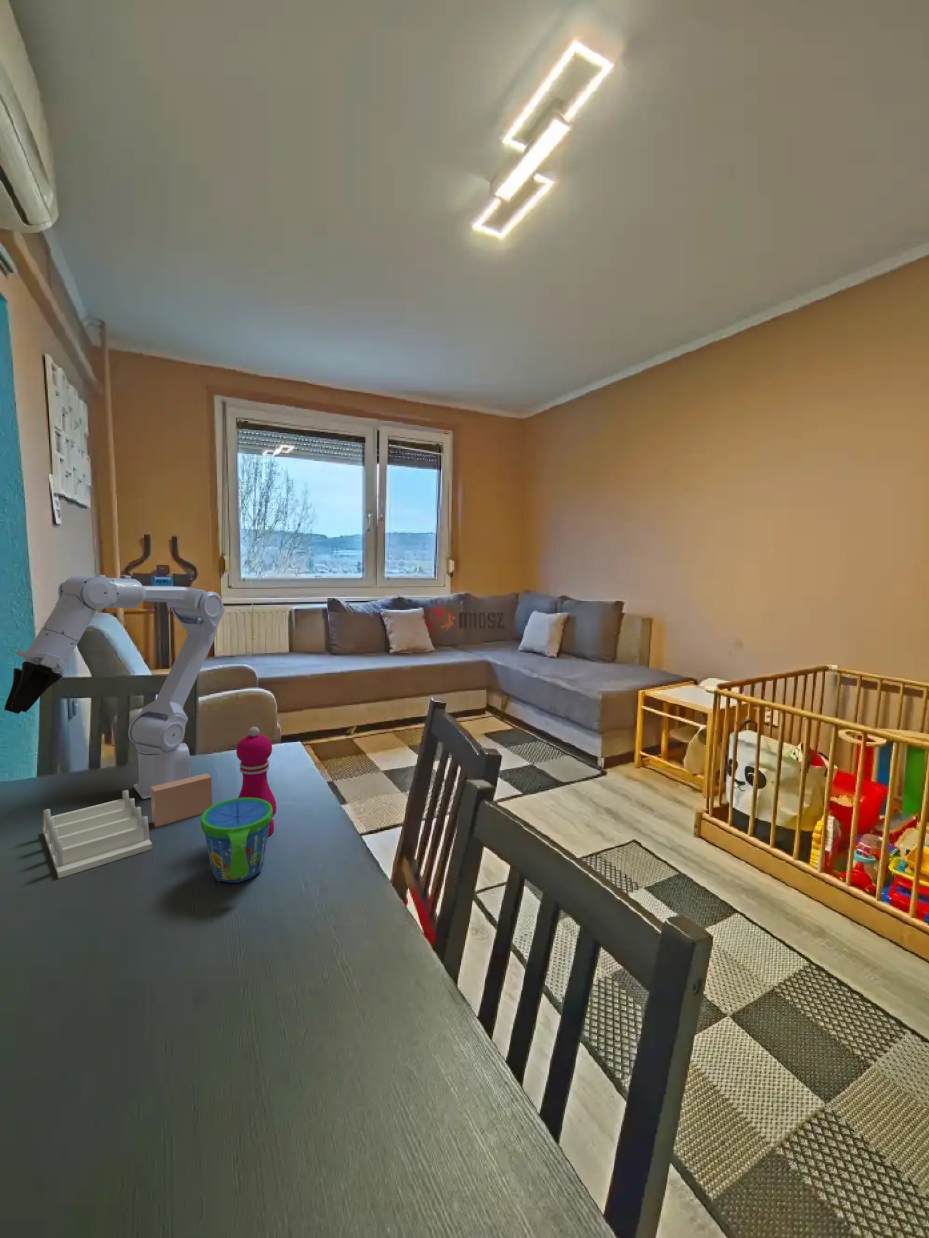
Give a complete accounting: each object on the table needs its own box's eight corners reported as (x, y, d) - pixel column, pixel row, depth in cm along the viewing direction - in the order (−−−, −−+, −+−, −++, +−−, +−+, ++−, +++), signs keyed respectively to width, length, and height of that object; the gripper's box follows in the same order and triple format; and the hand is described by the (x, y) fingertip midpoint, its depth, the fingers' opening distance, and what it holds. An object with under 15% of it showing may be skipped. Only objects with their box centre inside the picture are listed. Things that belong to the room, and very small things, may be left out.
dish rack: (126, 810, 106) (125, 786, 106) (152, 848, 94) (151, 821, 93) (43, 833, 98) (41, 806, 97) (58, 878, 85) (56, 848, 84)
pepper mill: (283, 824, 103) (282, 722, 101) (265, 844, 96) (264, 735, 93) (246, 821, 104) (244, 719, 101) (226, 841, 97) (223, 732, 94)
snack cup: (271, 895, 82) (270, 831, 81) (194, 907, 79) (192, 841, 78) (275, 842, 97) (274, 787, 96) (210, 850, 94) (208, 793, 92)
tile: (207, 806, 109) (206, 773, 109) (212, 811, 108) (211, 777, 107) (152, 822, 103) (150, 786, 102) (155, 827, 101) (154, 791, 100)
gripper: (26, 632, 98) (-19, 704, 92) (41, 620, 88) (-9, 699, 82) (69, 649, 102) (28, 718, 96) (88, 639, 92) (43, 715, 86)
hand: (14, 710), depth 89 cm, fingers open, 7 cm apart
